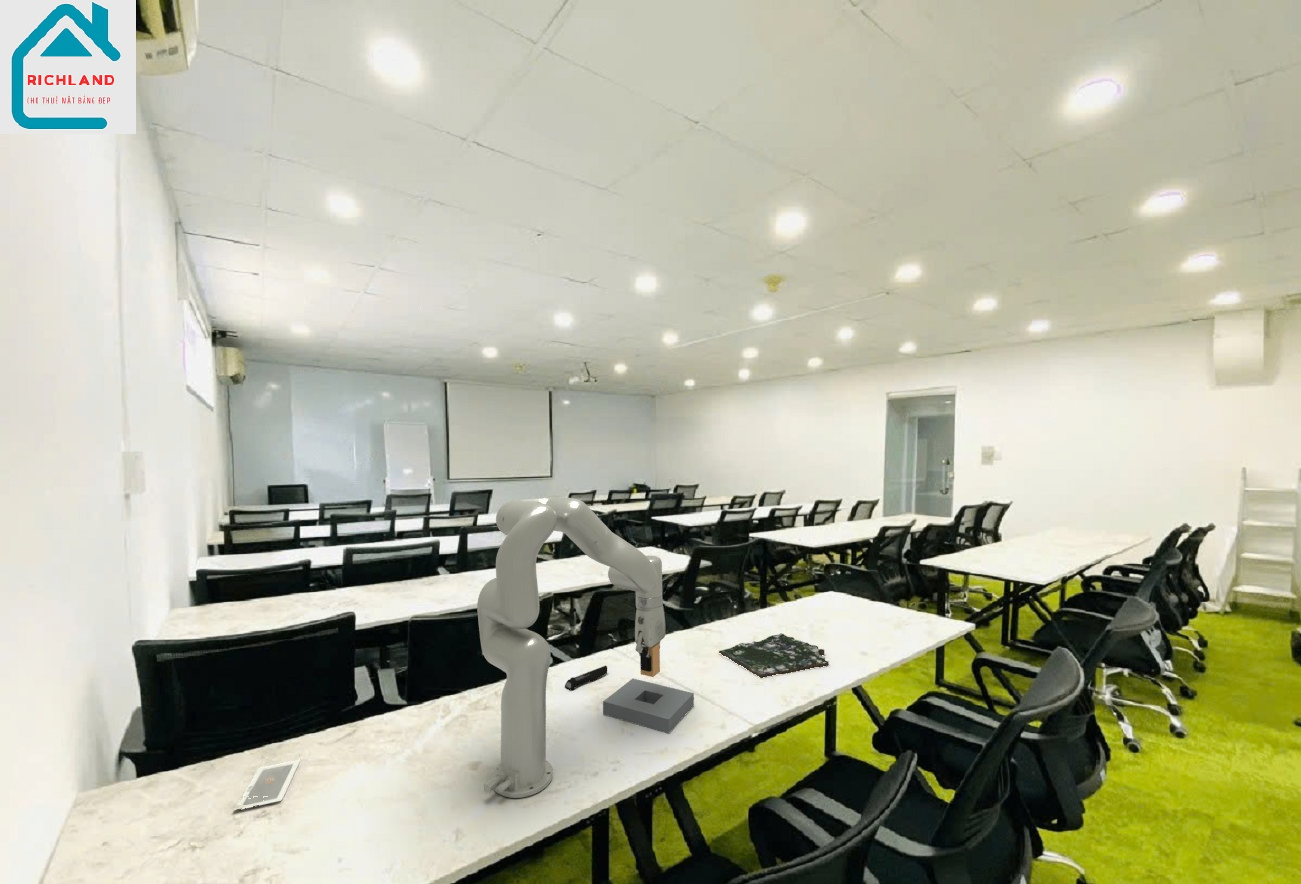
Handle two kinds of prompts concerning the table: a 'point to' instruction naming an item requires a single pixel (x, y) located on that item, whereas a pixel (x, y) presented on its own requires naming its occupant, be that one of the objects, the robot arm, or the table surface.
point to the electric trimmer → (585, 678)
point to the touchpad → (269, 784)
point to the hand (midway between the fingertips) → (650, 666)
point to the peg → (653, 660)
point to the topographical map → (776, 655)
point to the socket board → (649, 705)
